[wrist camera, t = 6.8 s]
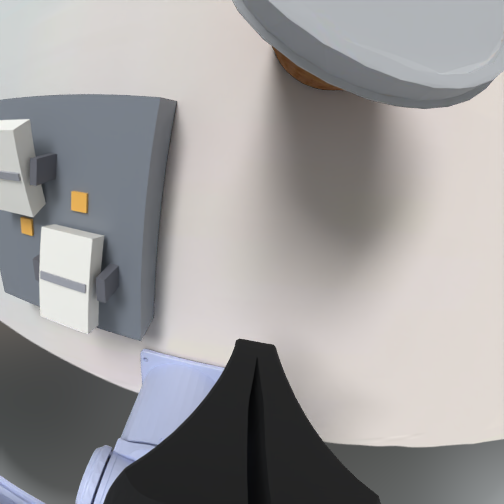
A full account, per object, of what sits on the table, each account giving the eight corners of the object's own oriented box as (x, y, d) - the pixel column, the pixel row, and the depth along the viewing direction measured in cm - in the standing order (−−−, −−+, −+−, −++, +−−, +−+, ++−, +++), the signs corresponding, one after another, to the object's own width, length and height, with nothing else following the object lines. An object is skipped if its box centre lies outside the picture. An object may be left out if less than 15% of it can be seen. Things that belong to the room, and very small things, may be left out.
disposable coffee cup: (265, -32, 12) (257, -158, 2) (406, 12, 13) (519, -54, 2) (229, 94, 16) (161, 44, 5) (380, 136, 17) (514, 167, 6)
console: (153, 317, 23) (131, 359, 18) (21, 275, 22) (-11, 302, 18) (176, 101, 17) (145, 94, 12) (17, 99, 16) (-26, 102, 12)
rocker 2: (98, 325, 18) (86, 335, 16) (51, 308, 18) (39, 316, 16) (104, 235, 17) (91, 239, 15) (54, 224, 17) (40, 226, 15)
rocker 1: (46, 203, 16) (31, 219, 15) (9, 196, 16) (-4, 210, 15) (29, 119, 12) (11, 131, 11) (-8, 120, 12) (-25, 132, 11)
